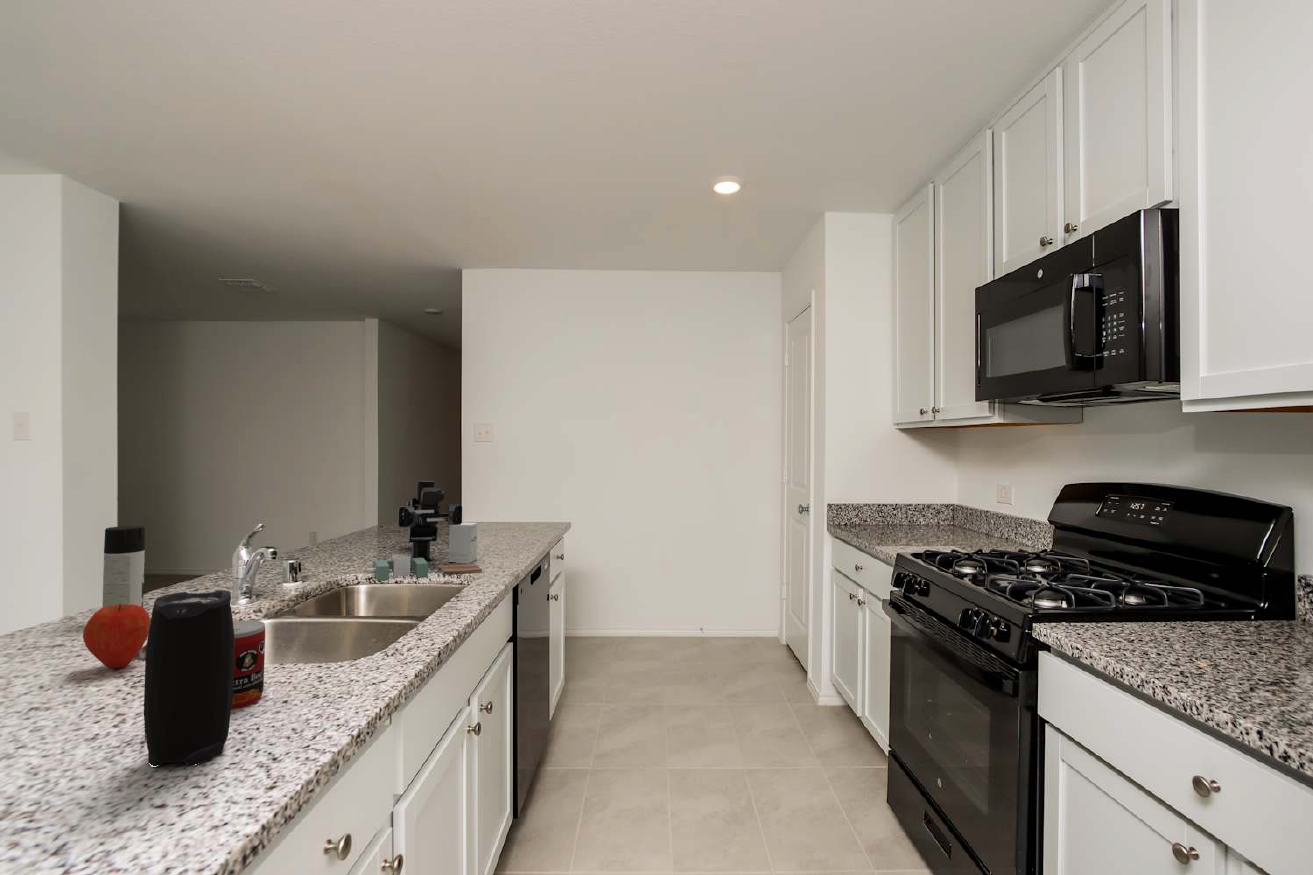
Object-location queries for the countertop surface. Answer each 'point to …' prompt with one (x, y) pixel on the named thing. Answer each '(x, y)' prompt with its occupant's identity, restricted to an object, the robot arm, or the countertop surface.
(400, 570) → the steel block
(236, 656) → the canned food
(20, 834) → the countertop surface
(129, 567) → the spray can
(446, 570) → the copper plate
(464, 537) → the supplement box
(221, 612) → the portable speaker
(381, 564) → the vise
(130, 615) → the apple
